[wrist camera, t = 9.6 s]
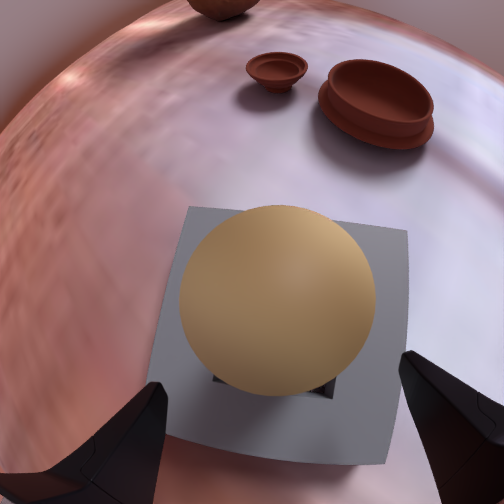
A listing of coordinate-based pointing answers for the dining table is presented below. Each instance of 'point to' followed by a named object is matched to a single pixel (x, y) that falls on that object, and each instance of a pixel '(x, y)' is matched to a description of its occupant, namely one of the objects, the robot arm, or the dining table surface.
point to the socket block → (299, 405)
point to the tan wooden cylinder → (277, 300)
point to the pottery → (359, 98)
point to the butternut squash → (221, 7)
